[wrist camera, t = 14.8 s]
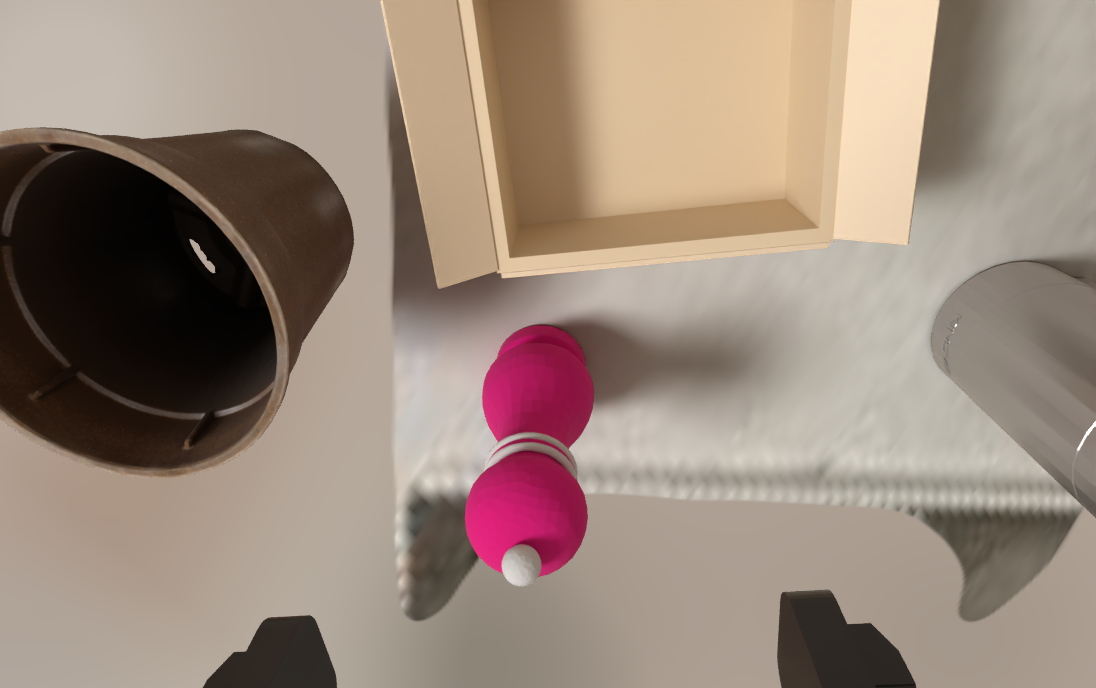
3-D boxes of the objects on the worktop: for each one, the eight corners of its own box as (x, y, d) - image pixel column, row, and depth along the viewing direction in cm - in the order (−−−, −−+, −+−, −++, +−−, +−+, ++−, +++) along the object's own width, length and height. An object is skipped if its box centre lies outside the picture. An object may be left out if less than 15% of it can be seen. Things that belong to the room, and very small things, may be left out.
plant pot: (80, 187, 42) (-179, 274, 28) (259, 31, 38) (61, 37, 23) (260, 374, 48) (124, 528, 33) (434, 257, 43) (364, 376, 29)
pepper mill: (486, 401, 48) (432, 628, 30) (495, 311, 45) (441, 504, 27) (584, 413, 48) (589, 646, 30) (600, 324, 45) (616, 526, 27)
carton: (867, -90, 34) (959, -126, 26) (842, 208, 41) (909, 255, 33) (416, -30, 36) (369, -44, 28) (464, 245, 43) (438, 298, 35)
